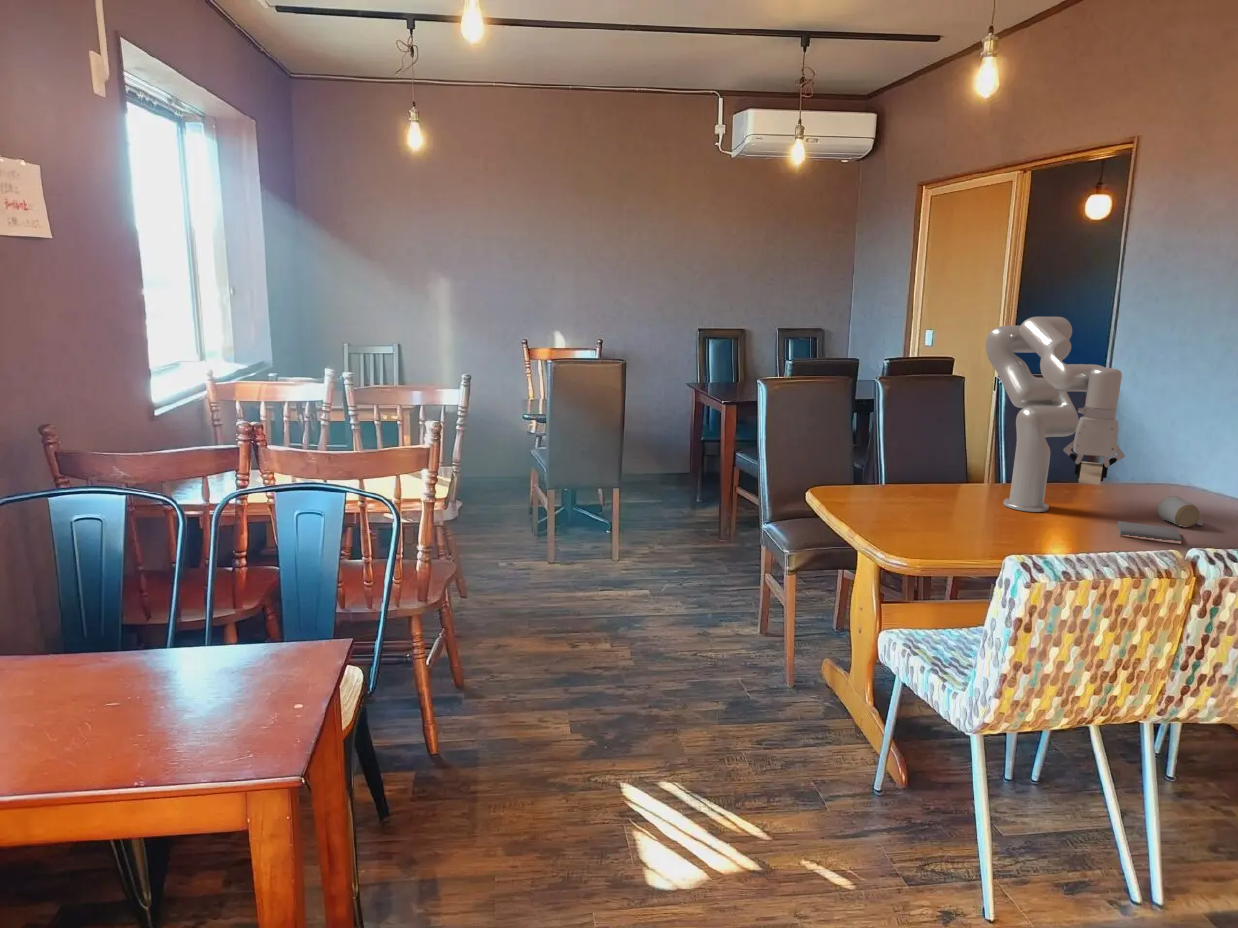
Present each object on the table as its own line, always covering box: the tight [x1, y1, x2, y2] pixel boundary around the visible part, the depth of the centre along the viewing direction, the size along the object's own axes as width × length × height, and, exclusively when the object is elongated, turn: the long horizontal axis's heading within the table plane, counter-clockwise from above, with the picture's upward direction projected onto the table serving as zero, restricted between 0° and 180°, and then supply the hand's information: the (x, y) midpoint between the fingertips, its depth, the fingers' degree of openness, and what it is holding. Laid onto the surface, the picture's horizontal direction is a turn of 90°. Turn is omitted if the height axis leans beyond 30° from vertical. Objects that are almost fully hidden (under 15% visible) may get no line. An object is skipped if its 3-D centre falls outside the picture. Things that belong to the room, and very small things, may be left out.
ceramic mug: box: [1157, 495, 1205, 527], centre depth 235 cm, size 11×8×8 cm
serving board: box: [1117, 520, 1183, 541], centre depth 225 cm, size 11×14×2 cm
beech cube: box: [1078, 460, 1103, 486], centre depth 223 cm, size 5×5×5 cm
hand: (1089, 478), depth 224 cm, fingers closed on beech cube, 5 cm apart
